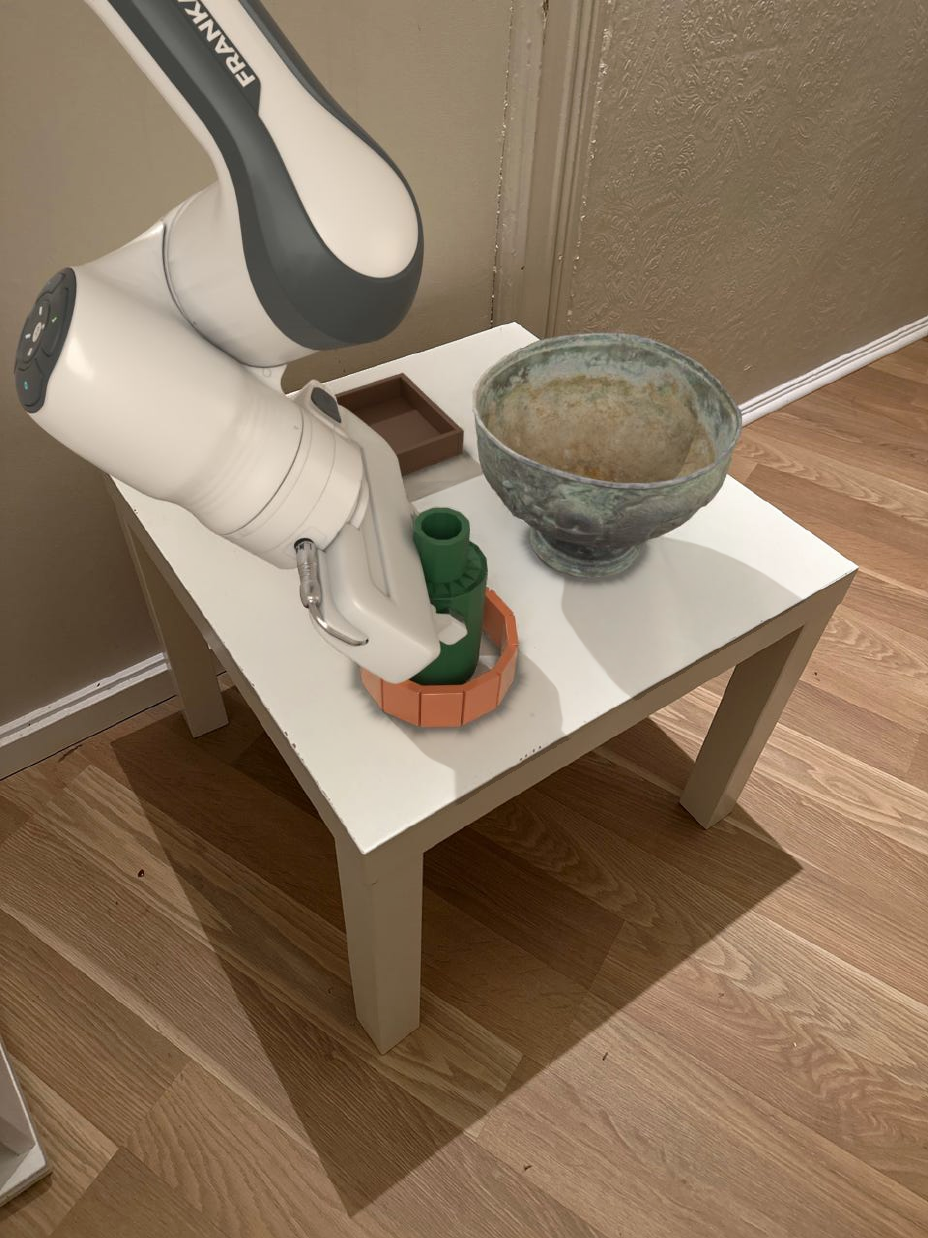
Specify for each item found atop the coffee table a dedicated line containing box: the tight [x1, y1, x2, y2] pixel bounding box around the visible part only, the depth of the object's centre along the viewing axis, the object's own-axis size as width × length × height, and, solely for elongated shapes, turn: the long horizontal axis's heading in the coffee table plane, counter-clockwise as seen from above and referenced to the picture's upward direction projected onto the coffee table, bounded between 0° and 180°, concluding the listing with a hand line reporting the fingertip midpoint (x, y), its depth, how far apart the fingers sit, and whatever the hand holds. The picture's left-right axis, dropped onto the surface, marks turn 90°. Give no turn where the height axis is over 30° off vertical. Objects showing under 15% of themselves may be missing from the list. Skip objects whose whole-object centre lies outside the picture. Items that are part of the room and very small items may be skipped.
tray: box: [334, 372, 465, 477], centre depth 85 cm, size 15×11×3 cm
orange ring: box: [359, 586, 520, 728], centre depth 67 cm, size 12×12×4 cm
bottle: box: [408, 506, 489, 686], centre depth 62 cm, size 6×6×14 cm
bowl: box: [471, 331, 743, 579], centre depth 73 cm, size 20×19×15 cm
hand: (447, 589), depth 62 cm, fingers closed on bottle, 6 cm apart
